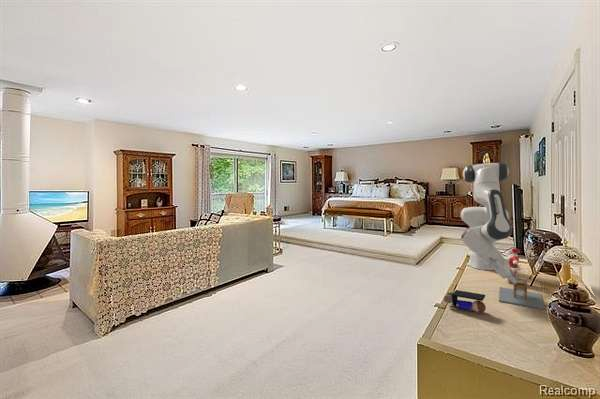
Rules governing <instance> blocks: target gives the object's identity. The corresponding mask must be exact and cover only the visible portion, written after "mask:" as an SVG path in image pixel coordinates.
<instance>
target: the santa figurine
mask: <svg viewBox="0 0 600 399" xmlns="http://www.w3.org/2000/svg"><path fill="white" fill-rule="evenodd" d="M520 253H521V251H520V250H519V249H518V248H515V247H514V248H511V249H509V252H508V256H507V259H506V260H507V261H508V263H509V264H510V268H511V269H512V271H513V272H514V273H515V274H516V275H517V273H518V272H520V271H521V266H519V261H520V258H519V256H518V254H520ZM516 277H518V275H517V276H516ZM507 280H508V281H507V283H508V284H510V285H514V283H513V282H512V281H510V280H509V279H507Z"/></svg>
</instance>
